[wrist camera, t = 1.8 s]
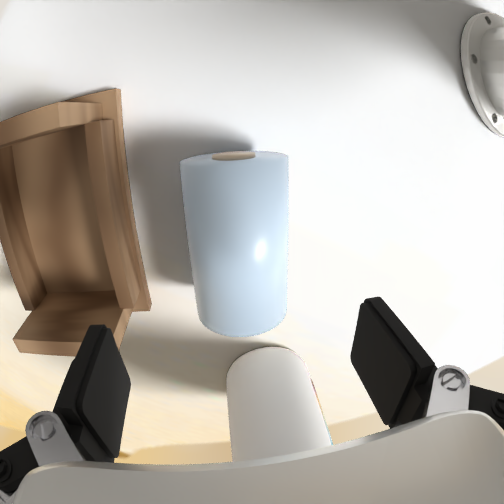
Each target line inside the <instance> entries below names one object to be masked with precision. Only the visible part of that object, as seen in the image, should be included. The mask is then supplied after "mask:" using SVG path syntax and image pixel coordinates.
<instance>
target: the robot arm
mask: <svg viewBox="0 0 504 504" xmlns="http://www.w3.org/2000/svg"><path fill="white" fill-rule="evenodd" d="M461 61H462V67H463V74H464V77H465V81H466V85H467V89H468V91H469V94H470V97H471V100H472V102H473V104H474V106H475V108H476V110H477V112H478V114H479V115H480V117H481V118H482V120H483V122H484V123H485V124H486V125H487V126H488V128H489V129H490V130H492V131H493V132H494V133H495V134H496V135H498V136H501V137H503V138H504V18H503V17H501V16H499V15H497V14H495V13H490V12H486V13H479V14H476V15H474V16H472V17H471V18H470V19H469V20H468V21H467V23H466V25H465V27H464V30H463V34H462V39H461ZM351 362H352V364H353V366H354V368H355V370H356V372H357V374H358V375H359V377H360V379H361V381H362V383H363V385H364V387H365V389H366V390H367V392H368V394H369V396H370V398H371V400H372V402H373V404H374V406H375V408H376V409H377V411H378V413H379V415H380V417H381V419H382V421H383V423H384V424H385V425H389V427H390V429H388V430H385V431H382V432H378V433H375V434H372V435H368V436H365V437H362V438H358V439H355V440H351V441H347V442H344V443H339V444H335V445H331V446H327V447H322V448H318V449H313V450H308V451H303V452H298V453H293V454H287V455H281V456H275V457H268V458H261V459H253V460H245V461H235V462H224V463H209V464H189V465H188V464H186V465H153V464H124V463H114V458H117V457H118V456H119V451H120V444H121V438H122V431H123V425H124V419H125V414H126V408H127V403H128V398H129V392H130V387H131V382H130V378H129V375H128V373H127V370H126V368H125V365H124V363H123V360H122V358H121V355H120V352H119V350H118V347H117V344H116V342H115V339H114V336H113V333H112V331H111V329H110V328H107V327H106V325H104V324H100V325H90V326H89V328H88V330H87V332H86V334H85V337H84V339H83V341H82V343H81V346H80V348H79V350H78V352H77V355H76V357H75V359H74V360H73V361H72V363H71V365H70V368H69V370H68V373H67V375H66V378H65V380H64V383H63V385H62V388H61V390H60V393H59V396H58V398H57V401H56V404H55V406H54V409H53V412H50V411H41V412H38V413H36V414H35V415H33V416H32V417H31V418H30V419H29V420H28V423H27V425H26V430H25V431H26V437H24V438H23V439H21V440H19V441H18V442H16V443H14V444H12V445H11V446H9V447H7V448H6V449H4V450H2V451H0V504H504V394H502V393H498V392H494V391H491V390H487V389H483V388H480V387H476V386H473V385H470V380H469V377H468V375H467V374H466V373H465V371H464V370H462V369H461V368H459V367H456V366H452V365H446V366H442V367H440V368H437V367H436V366H435V363H434V362H433V360H432V359H431V358H430V357H429V355H428V354H427V353H426V352H425V350H424V349H423V348H422V346H421V345H420V344H419V343H418V342H417V340H416V339H415V338H414V337H413V335H412V334H411V333H410V332H409V330H408V329H407V328H406V327H405V326H404V324H403V323H402V322H401V321H400V320H399V318H398V317H397V316H396V315H395V314H394V312H393V311H392V310H391V309H390V308H389V306H388V305H387V304H386V303H385V302H384V301H383V299H382V298H381V297H374V298H368V299H365V301H364V303H362V304H361V305H360V310H359V315H358V321H357V326H356V331H355V336H354V341H353V346H352V351H351Z"/></svg>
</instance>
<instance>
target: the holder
mask: <svg viewBox="0 0 504 504" xmlns="http://www.w3.org/2000/svg"><path fill="white" fill-rule="evenodd" d="M0 240H1V244H2V247H3V250H4V253H5V257H6V260H7V263H8V266H9V269H10V272H11V274H12V277H13V280H14V283H15V285H16V288H17V291H18V293H19V296H20V298H21V301H22V303H23V306H24V308H25V310H29V311H32V312H31V313H30V315H29V316H28V317H27V319H26V320H25V322H24V323H23V325H22V326H21V327H20V329H19V330H18V332H17V333H16V335H15V336H14V338H13V341H14V343H15V345H16V346H17V348H18V350H19V352H21V353H31V354H44V355H58V356H76V355H77V352H78V350H79V348H80V346H81V343H82V341H83V339H84V337H85V334H86V332H87V330H88V328H89V326H90V325H100V324H104V325H106V327H107V328H110V329H111V331H112V333H113V336H114V339H115V342H116V344H117V347H118V350H119V348H120V345H121V342H122V339H123V336H124V333H125V330H126V327H127V324H128V321H129V318H130V316H131V313H132V312H136V311H150V308H151V304H152V303H151V299H150V294H149V290H148V286H147V281H146V277H145V272H144V267H143V262H142V257H141V252H140V247H139V242H138V236H137V231H136V225H135V219H134V213H133V206H132V200H131V193H130V186H129V178H128V170H127V162H126V153H125V143H124V132H123V120H122V106H121V89H111V90H106V91H101V92H97V93H93V94H89V95H84V96H80V97H77V98H73V99H69V100H66V101H62V102H57V103H53V104H50V105H47V106H43V107H40V108H37V109H34V110H31V111H28V112H26V113H22V114H19V115H16V116H14V117H12V118H9V119H7V120H4V121H2V122H0Z"/></svg>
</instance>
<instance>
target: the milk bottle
mask: <svg viewBox="0 0 504 504" xmlns="http://www.w3.org/2000/svg"><path fill="white" fill-rule="evenodd" d="M226 384H227V402H228V415H229V428H230V439H231V448H232V459H233V462H235V461H245V460H253V459H261V458H268V457H275V456H281V455H287V454H293V453H298V452H303V451H308V450H313V449H318V448H322V447H327V446H331V445H333V443H332V440H331V437H330V433H329V430H328V427H327V424H326V421H325V418H324V415H323V412H322V409H321V406H320V403H319V400H318V397H317V394H316V391H315V388H314V385H313V382H312V379H311V376H310V373H309V370H308V368H307V365H306V363H305V361H304V360H303V359H302V357H300V356H299V355H298V354H297V353H295V352H294V351H291V350H289V349H286V348H282V347H264V348H258V349H255V350H252V351H249V352H247V353H245V354H243V355H242V356H241V357H239V358H238V359H237V360H236V361H235V362H234V363H233V364H232V366H231V367H230V369H229V371H228V373H227V378H226Z"/></svg>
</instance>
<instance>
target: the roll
mask: <svg viewBox="0 0 504 504" xmlns="http://www.w3.org/2000/svg"><path fill="white" fill-rule="evenodd" d="M180 173H181V184H182V194H183V203H184V213H185V222H186V230H187V238H188V246H189V254H190V262H191V269H192V276H193V283H194V290H195V297H196V303H197V310H198V315H199V319H200V321H201V322H202V323H203V325H204V326H205V327H207V328H208V329H210V330H211V331H213V332H215V333H218V334H221V335H225V336H231V337H248V336H254V335H259V334H262V333H265V332H267V331H269V330H271V329H273V328H275V327H276V326H277V325H278V324H279V323H280V322H281V321H282V320H283V319H284V317H285V315H286V311H287V275H288V156H287V155H286V154H282V153H277V152H268V151H232V152H219V153H210V154H203V155H198V156H193V157H189V158H186V159H183V160H181V161H180Z"/></svg>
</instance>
